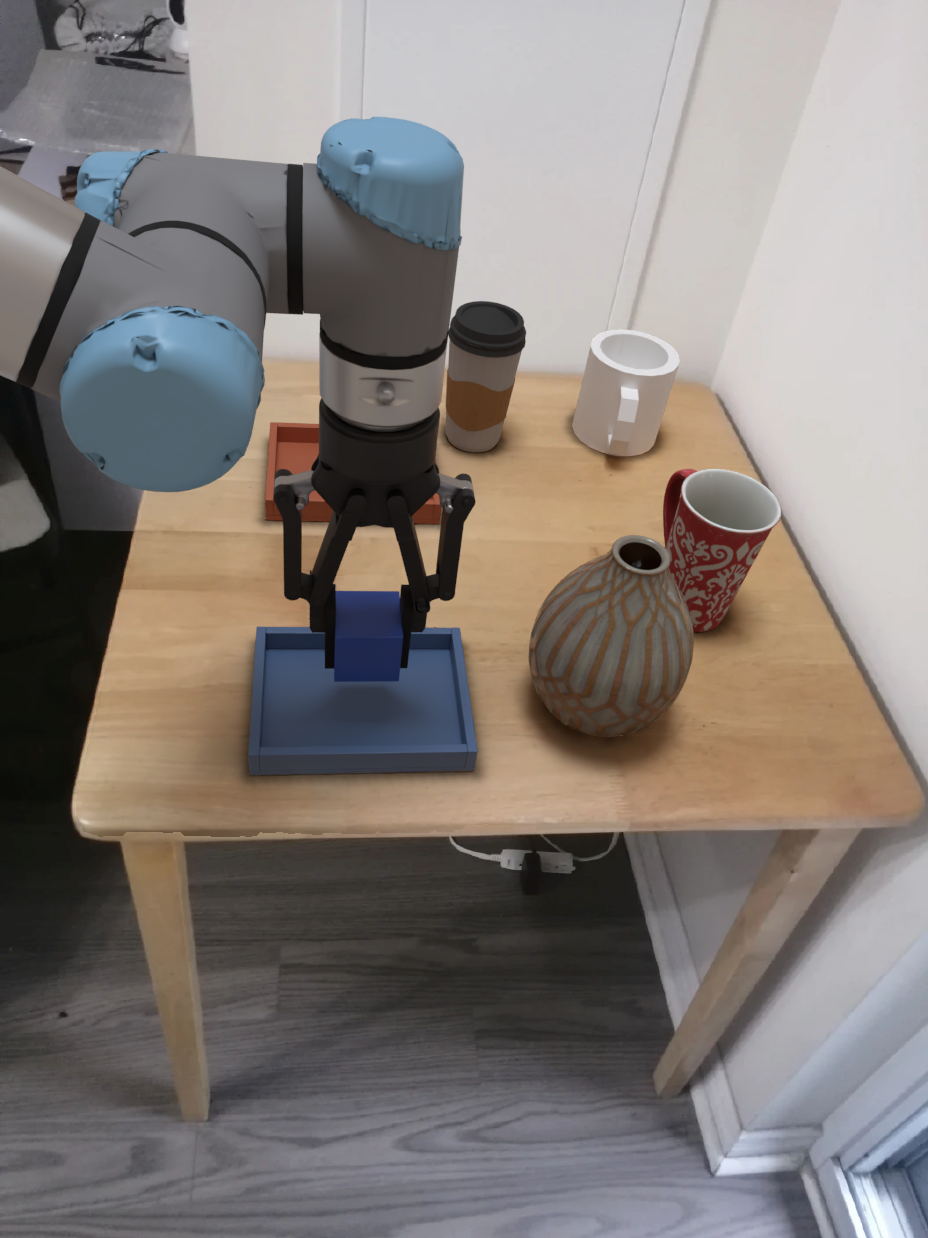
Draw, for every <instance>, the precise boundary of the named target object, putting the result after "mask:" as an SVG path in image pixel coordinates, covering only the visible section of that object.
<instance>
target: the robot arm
mask: <svg viewBox="0 0 928 1238" xmlns="http://www.w3.org/2000/svg"><path fill="white" fill-rule="evenodd" d="M319 150H320V151H319V153H318V155H317V157H316V163H312V162H311V163H310V162H303V164H300V163H299V164H297V163H282V162H273V161H271V162H270V161H259V160H249V159H237V158H227V157H216V156H203V155H192V154H183V153H182V154H181V153H173V152H172V153H169V152H168V151H167V150H164V149H158V148H149V149H145V150H143V151H139V150H137V151H136V150H135V151H133V150H132V151H131V150H129V151H128V150H127V151H126V150H124V151H123V150H122V151H121V150H118V151H117V150H104V151H102V150H101V151H96V152H94V153H93V154H90V155H88V156H87V158H85V159H84V160H83V162H82V163H81V166H80V168H79V170H78V174H77V179H76V195H75V196H74V204H71V203H70V202H68V201H65V200H64V199H62V198H60V197H59V196H56V195H54V194H52V193H51V192H49V191H47V190H45V189H44V188H42V187H39V186H38V185H36V184H34V183H33V182H31V181H29V180H27V179H25V178H23V177H22V176H20V175H18V174H15V173H14V172H12V171H10V170H8V169H6V168H5V167H3V166H1V165H0V376H1V377H3V378H5V379H8V380H11V381H12V382H15V383H17V384H19V385H22V386H23V387H25V388H28V389H30V390H32V391H35V392H37V393H39V394H40V395H43V396H45V397H48V398H49V399H52V400H54V401H56V402H59V403H60V411H61V419H62V423H63V426H64V428H65V430H66V434H67V436H68V437H69V439H70V441H71V443H72V444H73V446H74V447H75V448H76V449H77V450H78V451H79V453H82V455H84V456H85V457H86V458H87V459H88V460H89V461H90V462H91V463H92V464H93V465H95V466H96V467H97V470H98V471H99V472H100V473H102V474H103V475H105V476H106V477H108V478H110V479H111V480H114V481H116V482H117V483H120V484H122V485H125V486H126V487H127V486H128V487H130V488H134V489H138V490H141V491H147V492H155V493H180V492H188V491H192V490H195V489H199V488H201V487H204V486H207V485H210V484H212V483H213V482H215V481H217V480H219V479H220V478H222V477H223V476H225V475H226V474H227V473H229V472H230V471H231V470H232V469H233V467H235V466H236V464H237V463H238V462H239V461H240V460H241V458H243V457H244V456H245V454H246V452H247V451H248V450H247V449H248V446H249V445H250V442H251V438H252V434H253V430H254V425H255V420H256V414H257V411H258V408H259V406H260V404H261V401H262V392H263V390H264V387H265V384H266V382H265V381H266V378H265V367H264V365H263V353H264V352H263V351H264V336H265V327H266V322H267V321H266V320H267V314H278V315H300V316H302V315H304V314H307V315H308V314H309V315H319V333H318V335H319V337H318V342H319V343H318V346H319V347H318V350H319V351H318V353H319V354H318V355H319V357H318V361H319V362H318V364H319V367H318V369H319V371H318V373H319V374H318V376H319V378H318V379H319V384H318V386H319V387H318V388H319V396H320V400H319V404H318V424H319V454H318V457H317V458H316V460H315V461H314V463H313V464H312V467H311V470H310V471H306V472H302V473H298V474H294V475H292V473H291V472H290V471H289V470H287V469H280V470H278V471H277V472H276V473H275V476H274V494H273V499H274V502H275V504H276V506H277V508H278V510H279V512H280V514H281V516H282V519H283V520H282V529H283V530H282V543H283V545H282V546H283V547H282V548H283V550H282V551H283V553H282V554H283V597H284V598H285V599H287V600H288V601H292V602H294V601H297V600H299V599H302V600H304V601H306V602H307V603H308V605H309V606H308V607H309V627H310V630H311V631H312V633H325V669H334V650H335V626H336V591H337V588H336V583H334V582H335V581H336V577H337V575H338V572H339V570H340V567H341V564H342V561H343V559H344V556H345V553H346V551H347V548H348V545H349V542H351V541H353V537H354V535H355V533H356V530H357V528H365V527H366V528H367V527H371V526H378V527H382V528H392V529H393V531H394V535H395V539H396V542H397V543H398V549H399V552H400V556H401V560H402V564H403V567H404V571H405V576H406V579H407V583H408V584H402V583H401V584H400V591H399V594H400V611H401V623H402V630H403V644H402V654H401V664H400V668H407V667H408V658H409V648H410V639H411V632H423V631H424V629H425V628H427V627H426V626H427V619H428V618H427V617H428V613H430V611H431V602H433V601H435V600H438V599H439V600H440V601H442V602H449V601H451V600H453V599H454V598H455V595H456V588H457V582H458V581H457V580H458V573H459V565H460V558H461V549H462V541H463V534H464V525H465V523H466V520H467V518H469V515H470V513H472V510H473V509H474V507H475V505H476V503H477V502H476V497H475V490H474V485H473V480H472V477H471V475H469V474H468V473H465V472H464V473H463V472H462V473H459V474H458V475H456V476H455V477H452V476H449V475H446V474H444V473H440V469H439V466H438V464H437V462H436V463H435V459H436V457H437V456H436V454H437V447H438V438H439V427H440V420H441V419H440V418H441V411H440V405H441V403H442V398H443V391H444V390H443V388H444V381H445V380H444V379H445V370H446V369H445V367H446V358H447V349H448V342H449V335H448V332H449V328H450V323H451V315H452V309H453V300H454V292H455V285H456V284H455V283H456V277H457V267H458V260H459V252H460V246H461V245H462V239H463V236H462V235H461V234H462V233H461V231H462V230H461V222H462V208H463V207H462V206H463V189H464V175H465V173H464V172H465V164H464V159H463V157H462V155H461V153H460V151H459V150H458V149H457V146H456V145H455V144H454V142H453V141H452V140H451V139H450V138H449V137H447V136H446V135H445V134H443V133H442V132H440V131H439V130H437V129H435V128H432V127H430V126H428V125H425V124H422V123H419V122H415V121H412V120H407V119H402V118H396V117H395V118H394V117H387V116H372V117H370V118H365V119H364V118H358V117H357V118H355V117H353V118H347V119H343V120H340V121H338V122H336V123H334V124H332V125H331V126H330V127H329V128H328V129H327V130H326V131H325V132H324V134H323V136H322V138H321V141H320V149H319ZM314 490H316V492H317V493H318V494H319V495H320V496H321V497H322V498H323V499H324V501H325V502H326V503H327V504H328V505H329V506H330V507H331V508H332V510H333V511H332V516H331V519H330V521H328V522H329V523H328V525H327V527H326V530H325V532H324V533H325V534H324V536H323V538H322V542H321V544H320V547H319V550H318V552H317V556H316V559H315V562H314V564H313V567H312V570H311V569H310V570H309V573H306V572H303V571H302V567H303V566H302V564H303V563H302V562H303V561H302V559H303V557H302V556H303V553H302V552H303V551H302V549H303V543H302V542H303V541H302V539H303V538H302V537H303V521H302V510H303V509H304V506H306V505H307V504H308V503H309V494H310V493H311V492H312V491H314ZM435 493H437V494H438V495H439V501H440V506H441V507H442V509H441V517H440V527H439V537H438V547H437V556H436V564H435V565H436V566H435V573H433V574H429V575H427V572H426V568H425V564H424V559H423V555H422V551H421V547H420V541H419V538H418V534H417V529H416V523H414V520H413V515H414V514H415V513H416V512H417V511H418V510H419V509H420V508H421V507H422V506H423V505H424V504H425V503H426V502H427V501H428V500H429V499H430V498H431V497H432V496H433V495H434V494H435Z"/></svg>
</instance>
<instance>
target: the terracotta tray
mask: <svg viewBox="0 0 928 1238" xmlns="http://www.w3.org/2000/svg"><path fill="white" fill-rule="evenodd" d="M268 433H269V434H268V449H267V450H268V451H267V465H266V481H265V495H264V504H265V505H264V507H265V509H264V510H265V520H266V521H283V519H282V516H281V514H280V512H279V510H278V508H277V506H276V504H275V502H274V499H273V494H274V476H275V473H276V472H277V471H278V470H280V469H287V470H289V471H290V472H291V473H292V475H294V474H298V473H302V472H306V471H310V470H311V467H312V464H313V463H314V461H315V460H316V458H317V457H318V454H319V423H308V422H307V423H305V422H303V423H302V422H283V421H281V422H275V421H274V422H273V421H271V422H269V432H268ZM435 463H436V464H437V459H436V458H435ZM442 509H443V508H442V507H441V506H440V501H439V495H438V494H437V493H435V494H434V495H433V496H432V497H431V498H430V499H429V500H428V501H427V502H426V503H425V504H424V505H423V506H422V507H421V508H420V509H419V510H418V511H417V512H416V513H415V514H414V515H413V520H414V524H422V525H424V524H425V525H441V518H442ZM332 511H333V510H332V508H331V507H330V506H329V505H328V504H327V503H326V502H325V501H324V499H323V498H322V497H321V496H320V495H319V494H318V493H317V492H316V490H314V491H312V492H311V493H310V494H309V503H308V504H307V505H306V506H304V509H303V510H302V522H330V519H331V516H332Z"/></svg>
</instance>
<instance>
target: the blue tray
mask: <svg viewBox="0 0 928 1238" xmlns="http://www.w3.org/2000/svg"><path fill="white" fill-rule="evenodd" d="M255 628H256V629H255V642H254V643H255V646H254V662H253V674H252V675H253V676H252V689H251V691H252V692H251V707H250V720H249V721H250V722H249V735H248V736H249V737H248V753H247V759H248V770H249V771H248V773H249V775H250V776H274V775H275V776H279V775H280V776H281V775H283V776H284V775H324V774H325V775H333V774H336V775H337V774H377V773H378V774H379V773H380V774H381V773H382V774H383V773H431V772H433V773H435V772H473V771H475V766H476V763H477V756H478V752H479V750H478V743H477V737H476V736H477V735H476V729H475V723H474V715H473V709H472V702H471V701H472V700H471V694H470V689H469V681H468V675H467V668H466V661H465V654H464V647H463V640H462V634H461V628H460V627H425V629H424V631H423V632H411V639H410V648H409V658H408V667H407V668H400V674H399V681H383V682H334V669H325V633H312V631H311V630H310V626H256V627H255Z"/></svg>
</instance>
